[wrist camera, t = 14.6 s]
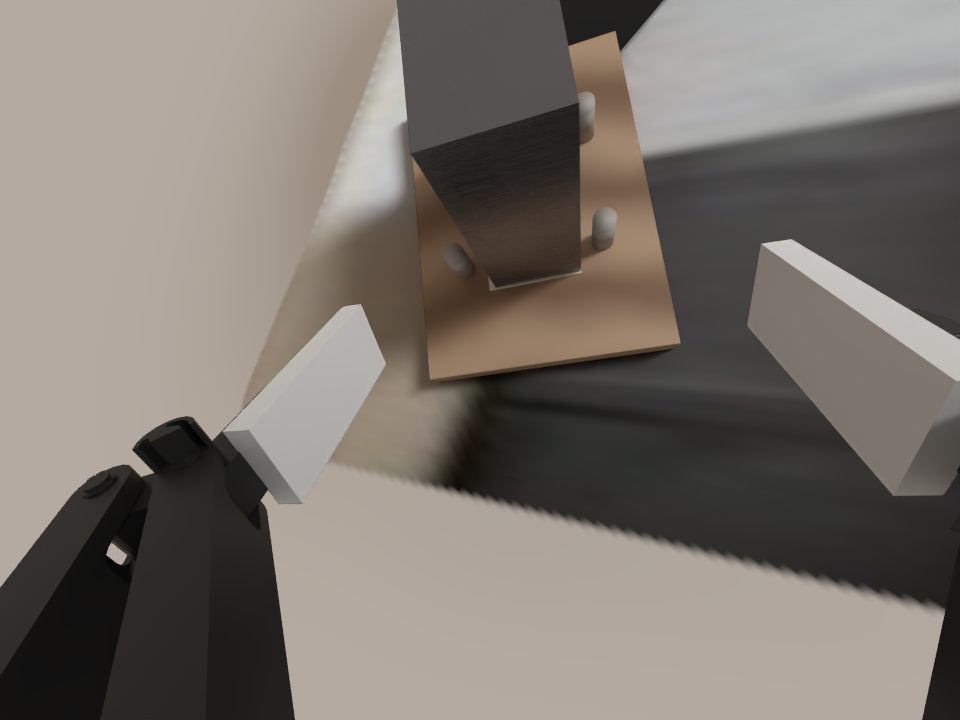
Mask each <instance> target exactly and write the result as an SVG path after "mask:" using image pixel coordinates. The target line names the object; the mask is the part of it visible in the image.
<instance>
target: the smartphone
mask: <svg viewBox="0 0 960 720" xmlns="http://www.w3.org/2000/svg"><path fill="white" fill-rule="evenodd" d="M665 2H666V0H560V5H561V10H562V16H563V21H564V26H565V31H566V36H567V42H568V46H571V45H574V44H577V43H580V42H583V41H586V40H589V39H592V38H595V37H598V36H601V35H604V34H607V33H610V32H613V31H616V36H617V41H618V46H619V50H620V55H621V53H622V52H623V51H624V50H625V49H626V47H627V46H628V45H629V44H630V43H631V42H632V40H633V39H634V38H635V37H636V36H637V35H638V33H639V32H640V31H641V30H642V29H643V27H644V26H645V25H646V24H647V23H648V22H649V20H650V19H651V18H652V17H653V16H654V15H655V13H656V12H657V11H658V10H659V9H660V7H661V6H662V5H663V4H664V3H665Z"/></svg>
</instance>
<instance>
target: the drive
mask: <svg viewBox="0 0 960 720" xmlns="http://www.w3.org/2000/svg"><path fill="white" fill-rule="evenodd" d="M397 8H398V19H399V30H400V41H401V52H402V64H403V75H404V86H405V97H406V108H407V119H408V131H409V142H410V153H411V155H412V157H413V158H414V160H415V161H416V163H417V165H418V166H419V168H420V169H421V171H422V172H423V174H424V176H425V177H426V179H427V180H428V182H429V183H430V185H431V187H432V188H433V190H434V191H435V193H436V195H437V196H438V198H439V199H440V201H441V202H442V204H443V206H444V207H445V209H446V210H447V212H448V213H449V215H450V217H451V218H452V220H453V221H454V223H455V224H456V226H457V228H458V229H459V231H460V232H461V234H462V235H463V237H464V239H465V240H466V242H467V243H468V245H469V247H470V248H471V250H472V251H473V253H474V254H475V256H476V258H477V259H478V261H479V262H480V264H481V265H482V267H483V269H484V270H485V272H486V273H487V275H488V276H489V278H490V280H491V281H492V283H493V284H494V286H495V288H498V287H503V286H508V285H513V284H518V283H523V282H527V281H532V280H537V279H542V278H547V277H552V276H557V275H562V274H566V273H571V272H576V271H581V212H580V126H579V99H578V93H577V88H576V83H575V78H574V73H573V67H572V62H571V57H570V52H569V47H568V42H567V36H566V31H565V26H564V21H563V16H562V10H561V5H560V0H397Z"/></svg>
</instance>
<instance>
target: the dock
mask: <svg viewBox="0 0 960 720" xmlns="http://www.w3.org/2000/svg"><path fill="white" fill-rule="evenodd" d="M568 47H569V52H570V57H571V62H572V67H573V73H574V78H575V83H576V88H577V93H578V99H579V126H580V212H581V271H576V272H571V273H566V274H562V275H557V276H552V277H547V278H542V279H537V280H532V281H527V282H523V283H518V284H513V285H508V286H503V287H498V288H495V286H494V284H493V283H492V281H491V280H490V278H489V276H488V275H487V273H486V272H485V270H484V269H483V267H482V265H481V264H480V262H479V261H478V259H477V258H476V256H475V254H474V253H473V251H472V250H471V248H470V247H469V245H468V243H467V242H466V240H465V239H464V237H463V235H462V234H461V232H460V231H459V229H458V228H457V226H456V224H455V223H454V221H453V220H452V218H451V217H450V215H449V213H448V212H447V210H446V209H445V207H444V206H443V204H442V202H441V201H440V199H439V198H438V196H437V195H436V193H435V191H434V190H433V188H432V187H431V185H430V183H429V182H428V180H427V179H426V177H425V176H424V174H423V172H422V171H421V169H420V168H419V166H418V165H417V163H416V161H415V160H414V158H413V157H412V159H413V172H414V185H415V198H416V210H417V223H418V236H419V249H420V261H421V274H422V287H423V299H424V312H425V325H426V338H427V350H428V363H429V376H430V380H433V381H437V382H443V381H450V380H457V379H464V378H471V377H478V376H485V375H492V374H499V373H506V372H513V371H520V370H527V369H534V368H541V367H548V366H555V365H562V364H569V363H576V362H583V361H590V360H598V359H605V358H612V357H619V356H626V355H633V354H640V353H647V352H654V351H661V350H668V349H674V348H675V347H677V346H678V345H679V344H680V338H679V333H678V328H677V324H676V319H675V314H674V309H673V304H672V300H671V295H670V290H669V285H668V280H667V276H666V271H665V266H664V261H663V257H662V252H661V247H660V242H659V237H658V233H657V228H656V223H655V218H654V213H653V209H652V204H651V199H650V194H649V189H648V185H647V180H646V175H645V170H644V165H643V161H642V156H641V151H640V146H639V141H638V137H637V132H636V127H635V122H634V117H633V113H632V108H631V103H630V98H629V93H628V89H627V84H626V79H625V74H624V70H623V65H622V60H621V55H620V50H619V46H618V41H617V36H616V31H613V32H610V33H607V34H604V35H601V36H598V37H595V38H592V39H589V40H586V41H583V42H580V43H577V44H574V45H571V46H568Z"/></svg>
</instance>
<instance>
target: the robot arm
mask: <svg viewBox="0 0 960 720" xmlns="http://www.w3.org/2000/svg"><path fill="white" fill-rule="evenodd" d="M747 326H748V327H749V328H750V330H751V331H752V332H753V333H754V334H755V335H756V337H757V338H758V339H759V340H760V341H761V342H762V344H763V345H764V346H765V347H766V348H767V349H768V351H769V352H770V353H771V354H772V355H773V356H774V358H775V359H776V360H777V361H778V362H779V363H780V364H781V366H782V367H783V368H784V369H785V370H786V371H787V373H788V374H789V375H790V376H791V377H792V378H793V380H794V381H795V382H796V383H797V384H798V385H799V387H800V388H801V389H802V390H803V391H804V392H805V394H806V395H807V396H808V397H809V398H810V399H811V401H812V402H813V403H814V404H815V405H816V406H817V407H818V409H819V410H820V411H821V412H822V413H823V414H824V416H825V417H826V418H827V419H828V420H829V421H830V423H831V424H832V425H833V426H834V427H835V428H836V430H837V431H838V432H839V433H840V434H841V435H842V437H843V438H844V439H845V440H846V441H847V442H848V444H849V445H850V446H851V447H852V448H853V449H854V450H855V452H856V453H857V454H858V455H859V456H860V457H861V459H862V460H863V461H864V462H865V463H866V464H867V466H868V467H869V468H870V469H871V470H872V471H873V473H874V474H875V475H876V476H877V477H878V478H879V480H880V481H881V482H882V483H883V484H884V485H885V487H886V488H887V489H888V490H889V491H890V492H891V494H892V495H893V496H913V495H944V494H945V492H946V491H947V489H948V488H949V486H950V485H951V483H952V482H953V480H954V479H955V477H956V476H957V474H958V472H959V473H960V324H958V323H956V322H954V321H952V320H951V319H948V318H945V317H942V316H939V315H936V314H932V313H929V312H926V311H923V310H920V309H913V310H909V309H907V308H906V307H904V306H902V305H901V304H899V303H897V302H896V301H894V300H892V299H891V298H889V297H887V296H886V295H884V294H882V293H881V292H879V291H877V290H875V289H874V288H872V287H870V286H869V285H867V284H865V283H864V282H862V281H860V280H859V279H857V278H855V277H854V276H852V275H850V274H849V273H847V272H845V271H844V270H842V269H840V268H839V267H837V266H835V265H834V264H832V263H830V262H829V261H827V260H825V259H824V258H822V257H820V256H819V255H817V254H815V253H814V252H812V251H810V250H808V249H807V248H805V247H803V246H802V245H800V244H798V243H797V242H795V241H793V240H792V239H790V240H784V241H777V242H770V243H764V244H761V248H760V254H759V260H758V265H757V271H756V277H755V283H754V289H753V294H752V300H751V306H750V312H749V318H748V324H747ZM385 365H386V363H385V361H384V358H383V356H382V353H381V351H380V349H379V346H378V344H377V342H376V339H375V337H374V334H373V332H372V330H371V327H370V325H369V322H368V320H367V318H366V315H365V313H364V311H363V308H362V306H361V304H357V305H351V306H344V307H342V308H341V309H340V310H339V311H338V312H337V313H336V314H335V315H334V316H333V317H332V318H331V319H330V320H329V321H328V322H327V324H326V325H325V326H324V327H323V328H322V329H321V330H320V331H319V332H318V333H317V334H316V335H315V336H314V337H313V338H312V339H311V340H310V341H309V342H308V343H307V344H306V345H305V346H304V347H303V348H302V349H301V351H300V352H299V353H298V354H297V355H296V356H295V357H294V358H293V359H292V360H291V361H290V362H289V363H288V364H287V365H286V366H285V367H284V368H283V369H282V370H281V371H280V372H279V373H278V374H277V375H276V376H275V378H274V379H273V380H272V381H271V382H270V383H269V384H268V385H267V386H266V387H264V388H263V389H262V390H261V391H260V392H259V393H258V394H257V395H256V396H255V397H254V398H253V399H252V401H251V402H250V403H249V404H248V405H247V406H246V407H245V408H244V410H243V411H241V412H240V413H239V414H238V415H237V416H236V417H235V418H234V419H233V420H232V421H231V423H229V424H228V425H227V427H225V428H224V429H223V431H221V433H220V434H219V435H218V436H217V437H216V438H215V439H214V440H213V441H211V439H210V438H209V437H208V436H207V434H206V433H205V432H204V431H203V429H202V428H201V427H200V426H199V425H198V423H197V422H196V421H195V420H194V418H192V417H188V416H186V417H180V418H176V419H173V420H171V421H168V422H166V423H164V424H162V425H160V426H158V427H156V428H155V429H153V430H152V431H150V432H149V433H147V434H146V435H145V436H144V437H142V438H141V439H140V441H138V442H137V443H136V445H135V446H134V448H133V449H132V450H133V451H134V452H135V453H136V454H137V455H138V456H139V457H140V458H141V459H142V460H143V461H144V462H145V463H146V464H147V466H149V468H150V469H151V470H152V471H153V472H154V473H153V474H150V475H146V476H143V477H141V476H140V475H139V474H138V473H137V472H136V471H135V470H134V469H133V468H132V467H131V466H129V465H120V466H116V467H112V468H110V469H108V470H106V471H102V472H100V473H98V474H96V476H95V475H94V476H93V477H91V478H89V479H88V480H87V481H86V483H85V484H83V485H82V486H81V487H80V488H78V490H77V491H75V492H74V494H73V495H72V496H71V497H70V498H69V499H68V501H67V502H66V503H65V505H64V506H63V507H62V508H61V510H60V511H59V512H58V514H57V515H56V516H55V518H54V519H53V520H52V521H51V523H50V524H49V525H48V527H47V528H46V530H45V531H44V532H43V533H42V534H41V536H40V537H39V538H38V540H37V541H36V542H35V543H34V545H33V546H32V547H31V549H30V550H29V551H28V553H27V554H26V555H25V556H24V558H23V559H22V560H21V562H20V563H19V564H18V565H17V567H16V568H15V570H14V571H13V572H12V573H11V575H10V576H9V577H8V578H7V580H6V581H5V582H4V584H3V585H2V586H1V588H0V720H295V717H294V709H293V702H292V695H291V687H290V680H289V672H288V665H287V657H286V650H285V642H284V635H283V627H282V620H281V612H280V605H279V598H278V590H277V583H276V575H275V568H274V560H273V553H272V545H271V539H270V530H269V523H268V516H267V510H266V508H265V506H264V504H263V503H262V502H261V501H260V500H261V499H262V497H263V496H264V495H265V493H266V492H267V490H268V491H269V492H270V493H271V495H272V496H273V497H274V499H275V500H276V501H277V502H278V503H279V504H303V502H304V501H305V499H306V497H307V496H308V494H309V492H310V490H311V489H312V487H313V486H314V484H315V482H316V481H317V479H318V477H319V476H320V474H321V472H322V471H323V469H324V467H325V466H326V464H327V462H328V461H329V459H330V457H331V456H332V454H333V452H334V451H335V449H336V447H337V446H338V444H339V442H340V441H341V439H342V437H343V436H344V434H345V432H346V431H347V429H348V427H349V425H350V424H351V422H352V420H353V419H354V417H355V415H356V414H357V412H358V410H359V409H360V407H361V405H362V404H363V402H364V400H365V399H366V397H367V395H368V394H369V392H370V390H371V389H372V387H373V385H374V384H375V382H376V380H377V379H378V377H379V375H380V374H381V372H382V370H383V369H384V367H385ZM950 529H952V530H954V531H957V532H960V516H959V517H958V518H957V520H956V521H955V523H954V524H953V525H952V527H951V528H950ZM111 542H112V543H113V544H114V545H116V546H117V547H118V548H119V549H120V550H122V551H123V552H124V553H126V554H127V557H126V559H125V561H124V563H123V564H122V565H119V564H117V563H116V562H114V561H113V560H112V559H110V558H109V557H108V556H106V554H107V550H108V547H109V545H110V544H111ZM922 720H960V545H959V550H958V554H957V559H956V564H955V568H954V573H953V578H952V582H951V587H950V592H949V596H948V601H947V606H946V610H945V615H944V620H943V625H942V629H941V634H940V639H939V643H938V648H937V653H936V657H935V662H934V667H933V672H932V676H931V681H930V686H929V690H928V695H927V700H926V704H925V709H924V714H923V719H922Z"/></svg>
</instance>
